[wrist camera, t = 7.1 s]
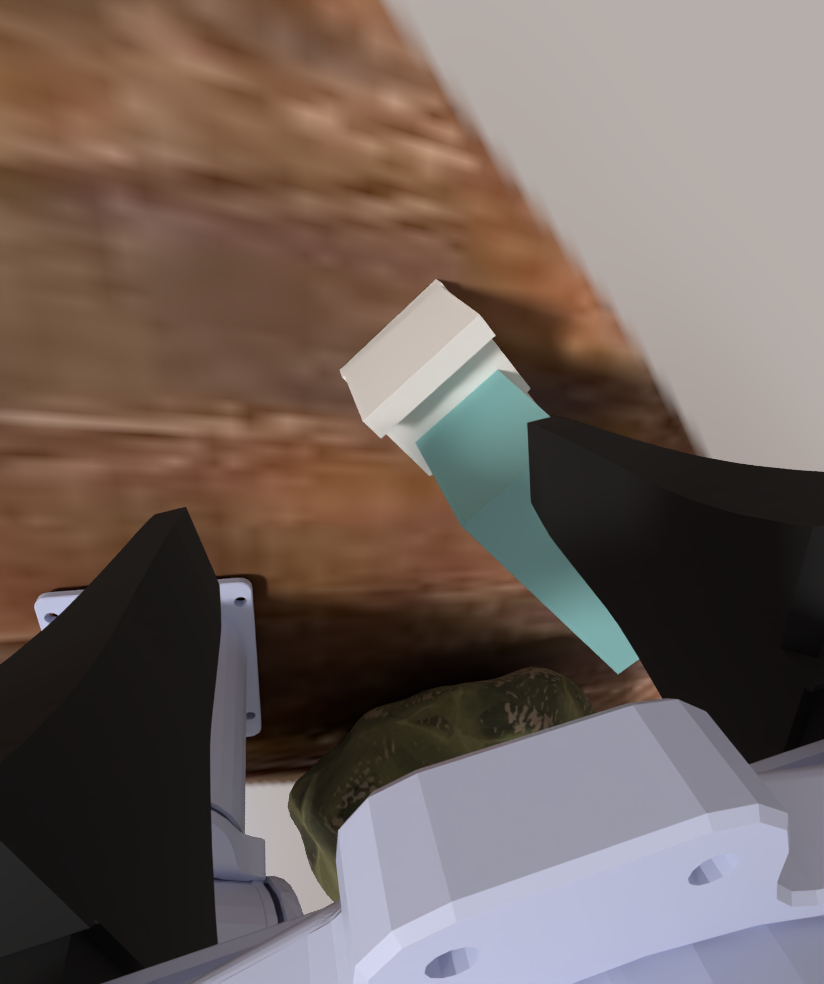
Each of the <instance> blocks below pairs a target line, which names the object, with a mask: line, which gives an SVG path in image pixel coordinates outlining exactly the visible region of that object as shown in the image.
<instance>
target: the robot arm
mask: <svg viewBox="0 0 824 984" xmlns="http://www.w3.org/2000/svg"><path fill="white" fill-rule="evenodd" d="M527 431H528V453H529V475H530V497H531V504H532V506H533V507H534V509H535V511H536V513H537V515H538V517H539V518H540V520H541V522H542V524H543V525H544V527H545V529H546V531H547V532H548V534H549V536H550V537H551V539H552V540H553V541H554V543H555V544H556V545H557V546H558V548H559V549H560V550H561V552H562V553H563V554H564V556H565V557H566V558H567V559H568V561H569V562H570V563H571V564H572V566H573V567H574V568H575V570H576V571H577V572H578V573H579V575H580V576H581V577H582V578H583V580H584V581H585V582H586V583H587V585H588V586H589V587H590V588H591V590H592V591H593V592H594V593H595V595H596V596H597V597H598V599H599V600H600V601H601V602H602V604H603V605H604V606H605V607H606V609H607V610H608V611H609V613H610V614H611V616H612V617H613V618H614V620H615V621H616V623H617V624H618V626H619V627H620V629H621V630H622V632H623V634H624V635H625V637H626V638H627V640H628V642H629V643H630V645H631V646H632V648H633V650H634V651H635V653H636V654H637V656H638V658H639V659H640V661H641V663H642V664H643V666H644V668H645V669H646V671H647V673H648V675H649V676H650V678H651V680H652V681H653V683H654V685H655V687H656V688H657V690H658V692H659V693H660V695H661V697H662V699H657V700H649V701H642V702H634V703H627V704H623V705H620V706H617V707H614V708H611V709H608V710H604V711H601V712H598V713H595V714H592V715H588V716H585V717H582V718H579V719H576V720H573V721H569V722H566V723H563V724H560V725H557V726H554V727H550V728H547V729H544V730H541V731H538V732H535V733H531V734H528V735H525V736H522V737H519V738H516V739H512V740H509V741H506V742H503V743H500V744H497V745H493V746H490V747H487V748H484V749H481V750H478V751H474V752H471V753H468V754H465V755H462V756H459V757H455V758H452V759H449V760H446V761H443V762H440V763H436V764H433V765H430V766H427V767H424V768H420V769H417V770H415V771H413V772H411V773H409V774H407V775H405V776H403V777H401V778H399V779H397V780H395V781H393V782H391V783H389V784H387V785H385V786H383V787H381V788H379V789H377V790H375V791H373V792H372V793H371V794H370V795H369V796H368V797H367V799H366V800H365V801H364V802H363V803H362V804H361V805H360V806H359V807H358V808H357V809H356V811H355V812H354V813H353V814H352V815H351V816H350V817H349V818H348V819H347V820H346V822H345V823H344V824H343V825H342V827H341V828H340V829H339V830H338V839H337V852H336V867H337V875H338V884H339V892H340V899H339V900H337V901H336V902H334V903H332V904H331V905H328V906H327V907H325V908H323V909H320V910H317V911H314V912H311V913H308V914H306V915H303V913H302V909H301V906H300V904H299V901H298V898H297V896H296V894H295V892H294V891H293V889H292V887H291V886H290V885H289V884H288V883H287V882H286V881H285V880H284V879H282V878H279V877H275V876H265V875H266V874H265V840H264V839H261V838H256V837H252V836H249V835H246V834H245V766H246V737H249V736H254V735H256V734H258V733H259V732H260V731H261V728H262V723H261V708H260V693H259V678H258V663H257V649H256V634H255V619H254V604H253V590H252V584H251V582H250V581H249V580H247V579H245V578H229V579H217V577H216V575H215V573H214V571H213V568H212V566H211V564H210V561H209V559H208V557H207V554H206V552H205V550H204V547H203V545H202V543H201V541H200V538H199V536H198V534H197V531H196V529H195V527H194V524H193V522H192V520H191V517H190V515H189V513H188V511H187V508H186V507H183V508H179V509H175V510H171V511H167V512H163V513H159V514H155V515H154V516H153V517H152V518H150V519H149V520H148V521H147V522H146V523H145V524H144V526H143V527H142V528H141V529H140V530H139V531H138V532H137V533H136V534H135V535H134V536H133V538H132V539H131V540H130V541H129V542H128V543H127V544H126V545H125V547H124V548H123V549H122V550H121V551H120V552H119V553H118V554H117V555H116V557H115V558H114V559H113V560H112V561H111V562H110V563H109V564H108V565H107V566H106V568H105V569H104V570H103V571H102V572H101V573H100V574H99V575H98V576H97V577H96V578H95V579H94V580H93V581H92V582H91V583H90V584H89V585H88V586H87V587H86V588H85V589H84V590H71V591H58V592H48V593H43V594H42V595H40V596H39V597H38V599H37V601H36V603H35V611H36V615H37V618H38V621H39V624H40V627H41V632H40V633H38V634H37V635H36V636H35V637H34V638H32V639H31V640H30V641H29V642H28V643H27V644H25V645H24V646H23V647H22V648H21V649H19V650H18V651H17V652H16V653H15V654H13V655H12V656H11V657H10V658H8V659H7V660H6V661H4V662H3V663H2V664H0V984H824V472H818V471H802V470H791V469H780V468H771V467H763V466H754V465H747V464H739V463H734V462H728V461H722V460H717V459H711V458H706V457H700V456H696V455H691V454H687V453H682V452H678V451H675V450H671V449H667V448H663V447H659V446H655V445H652V444H648V443H645V442H641V441H638V440H634V439H631V438H628V437H624V436H621V435H618V434H615V433H612V432H609V431H605V430H602V429H599V428H596V427H593V426H590V425H587V424H583V423H580V422H577V421H573V420H570V419H566V418H562V417H557V416H552V417H548V418H544V419H540V420H536V421H532V422H528V423H527ZM238 597H244V598H245V600H242V601H238V600H236V598H238ZM48 613H55V614H57V615H58V616H57V617H56V616H51V615H49V614H48ZM248 712H252V713H248Z"/></svg>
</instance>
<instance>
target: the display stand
mask: <svg viewBox="0 0 824 984" xmlns="http://www.w3.org/2000/svg"><path fill="white" fill-rule="evenodd" d="M495 336H496V335H495V334H494V333H493V331H492V330H491V329H490V327H489V326H488V325H487V323H486V322H485V321H484V320H483V318H482V317H481V316H480V314H478V313H477V312H476V311H474V310H473V309H471V308H470V307H469V306H467V305H466V304H465V303H463V302H462V301H461V300H459V299H458V298H456V297H455V296H454V295H452V294H451V293H450V292H449V291H448V290H447V289H446V287H445V286H444V285H443V284H442V283H441V282H440V281H438V280H437V279H436V280H435V281H433V282H432V283H431V284H430V285H429V286H428V287H427V288H426V289H425V290H424V291H423V292H422V293H421V294H420V295H419V296H418V297H417V298H415V299H414V300H413V301H412V302H411V303H410V304H409V305H408V306H407V307H406V308H405V309H404V310H403V311H402V312H401V313H400V314H399V315H397V316H396V317H395V318H394V319H393V320H392V321H391V322H390V323H389V324H388V325H387V326H386V327H385V328H384V329H383V330H382V331H381V332H379V333H378V334H377V335H376V336H375V337H374V338H373V339H372V340H371V341H370V342H369V343H368V344H367V345H366V346H365V347H364V348H363V349H361V350H360V351H359V352H358V353H357V354H356V355H355V356H354V357H353V358H352V359H351V360H350V361H349V362H348V363H347V364H346V365H345V366H343V367H342V368H341V369H340V373H341V375H342V378H343V379H344V380H345V381H346V382H347V383H348V386H349V388H350V391H351V393H352V396H353V398H354V401H355V403H356V405H357V408H358V410H359V413H360V415H361V418H362V420H363V422H364V423H365V424H366V425H367V426H368V427H369V428H370V429H372V430H373V431H374V432H375V433H376V434H377V435H378V436H379V437H380V438H382V437H383V436H384V435H386V434H387V435H388V436H389V437H390V438H391V439H392V440H393V441H394V442H395V443H396V444H397V445H398V446H399V447H400V448H401V449H402V450H403V451H404V452H405V453H406V454H407V455H408V456H409V457H410V458H412V459H413V460H414V461H415V462H416V463H417V464H418V465H419V466H420V467H421V468H422V469H423V470H424V471H425V472H426V473H427V474H428V475H429V476H431V475H432V472H431V470H430V469H429V467H428V465H427V463H426V461H425V460H424V458H423V456H422V454H421V452H420V451H419V449H418V447H417V445H416V443H415V442H416V441H417V440H418V439H420V438H421V437H422V436H423V435H424V434H425V433H426V432H427V431H429V430H430V429H431V428H432V427H433V426H434V425H435V424H436V423H438V422H439V421H440V420H441V419H442V418H443V417H444V416H446V415H447V414H448V413H449V412H450V411H451V410H452V409H453V408H455V407H456V406H457V405H458V404H459V403H460V402H461V401H462V400H464V399H465V398H466V397H467V396H468V395H469V394H470V393H472V392H473V391H474V390H475V389H476V388H477V387H478V386H479V385H481V384H482V383H483V382H484V381H485V380H486V379H487V378H488V377H490V376H491V375H492V374H493V373H494V372H495V371H496V370H499V371H500V372H501V373H502V374H503V375H504V376H506V377H507V378H508V379H509V380H510V381H511V382H512V383H513V384H514V385H516V386H517V387H518V388H519V389H520V390H521V391H522V392H523V393H524V394H526V395H527V396H528V397H529V398H530V399H531V400H532V401H533V402H534V403H535V401H534V400H533V399H532V398H531V396H530V395H529V394H528V393H527V392H528V391H529V390H530V387H529V386H528V385H527V383H526V382H525V381H524V379H523V378H522V377H521V376H520V374H519V373H518V372H517V370H516V369H515V368H514V367H513V365H512V364H511V363H510V361H509V360H508V359H507V357H506V356H505V355H504V354H503V352H502V351H501V350H500V348H499V347H498V346H497V345H496V343H495V342H494V341H493V339H492V338H493V337H495Z"/></svg>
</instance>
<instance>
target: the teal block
mask: <svg viewBox="0 0 824 984" xmlns="http://www.w3.org/2000/svg"><path fill="white" fill-rule="evenodd" d="M548 417H550V416H549V415H548V414H547V413H546V412H544V411H543V410H542V409H541V408H540V407H539V406H538V405H537V404H536V403H534V402H533V401H532V400H531V399H530V398H529V397H528V396H527V395H526V394H524V393H523V392H522V391H521V390H520V389H519V388H518V387H517V386H516V385H514V384H513V383H512V382H511V381H510V380H509V379H508V378H507V377H506V376H504V375H503V374H502V373H501V372H500V371H499V370H496V371H495V372H494V373H493V374H492V375H491V376H490V377H488V378H487V379H486V380H485V381H484V382H483V383H482V384H481V385H479V386H478V387H477V388H476V389H475V390H474V391H473V392H472V393H470V394H469V395H468V396H467V397H466V398H465V399H464V400H462V401H461V402H460V403H459V404H458V405H457V406H456V407H455V408H453V409H452V410H451V411H450V412H449V413H448V414H447V415H446V416H444V417H443V418H442V419H441V420H440V421H439V422H438V423H436V424H435V425H434V426H433V427H432V428H431V429H430V430H429V431H427V432H426V433H425V434H424V435H423V436H422V437H421V438H420V439H418V440H417V441H416V442H415V443H416V445H417V447H418V449H419V451H420V452H421V454H422V456H423V458H424V460H425V461H426V463H427V465H428V467H429V469H430V470H431V472H432V474H433V476H434V478H435V480H436V481H437V483H438V485H439V487H440V489H441V490H442V492H443V494H444V496H445V498H446V499H447V501H448V503H449V505H450V507H451V508H452V510H453V512H454V514H455V516H456V518H457V519H458V521H459V523H460V525H461V526H462V527H463V528H464V529H465V530H466V531H467V532H468V533H469V534H470V535H471V536H472V537H473V538H474V539H475V540H477V541H478V542H479V543H480V544H481V545H482V546H483V547H484V548H485V549H486V550H487V551H488V552H489V553H490V554H491V555H492V556H493V557H494V558H496V559H497V560H498V561H499V562H500V563H501V564H502V565H503V566H504V567H505V568H506V569H507V570H508V571H509V572H510V573H511V574H512V575H513V576H515V577H516V578H517V579H518V580H519V581H520V582H521V583H522V584H523V585H524V586H525V587H526V588H527V589H528V590H529V591H530V592H531V593H533V594H534V595H535V596H536V597H537V598H538V599H539V600H540V601H541V602H542V603H543V604H544V605H545V606H546V607H547V608H548V609H549V610H550V611H552V612H553V613H554V614H555V615H556V616H557V617H558V618H559V619H560V620H561V621H562V622H563V623H564V624H565V625H566V626H567V627H568V628H570V629H571V630H572V631H573V632H574V633H575V634H576V635H577V636H578V637H579V638H580V639H581V640H582V641H583V642H584V643H585V644H586V645H587V646H589V647H590V648H591V649H592V650H593V651H594V652H595V653H596V654H597V655H598V656H599V657H600V658H601V659H602V660H603V661H604V662H605V663H606V664H608V665H609V666H610V667H611V668H612V669H613V670H614V671H615V672H616V673H617V674H619V673H621V672H622V671H623V670H625V669H626V668H627V667H629V666H630V665H632V664H633V663H634V662H636V661H637V660H638V659H639V658H638V656H637V654H636V653H635V651H634V650H633V648H632V646H631V645H630V643H629V642H628V640H627V638H626V637H625V635H624V634H623V632H622V630H621V629H620V627H619V626H618V624H617V623H616V621H615V620H614V618H613V617H612V616H611V614H610V613H609V611H608V610H607V609H606V607H605V606H604V605H603V604H602V602H601V601H600V600H599V599H598V597H597V596H596V595H595V593H594V592H593V591H592V590H591V588H590V587H589V586H588V585H587V583H586V582H585V581H584V580H583V578H582V577H581V576H580V575H579V573H578V572H577V571H576V570H575V568H574V567H573V566H572V564H571V563H570V562H569V561H568V559H567V558H566V557H565V556H564V554H563V553H562V552H561V550H560V549H559V548H558V546H557V545H556V544H555V543H554V541H553V540H552V539H551V537H550V536H549V534H548V532H547V531H546V529H545V527H544V525H543V524H542V522H541V520H540V518H539V517H538V515H537V513H536V511H535V509H534V507H533V506H532V504H531V497H530V475H529V453H528V431H527V423H528V422H532V421H536V420H540V419H544V418H548Z"/></svg>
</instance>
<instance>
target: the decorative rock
mask: <svg viewBox="0 0 824 984" xmlns="http://www.w3.org/2000/svg"><path fill="white" fill-rule="evenodd" d="M592 714H595V713H594V710H593V708H592V706H591V704H590V701H589V699H588V698H587V696H586V695H585V694H584V692H583V691H582V690H581V688H580V687H579V686H578V685H577V684H576V683H574V682H573V681H572V680H570V679H569V678H567V677H566V676H564V675H562V674H560V673H557V672H555V671H553V670H550V669H546V668H542V667H527V668H523V669H520V670H516V671H514V672H511V673H509V674H506V675H504V676H501V677H498V678H494V679H491V680H484V681H476V682H468V683H462V684H457V685H452V686H441V687H437V688H433V689H428V690H424V691H422V692H420V693H417V694H415V695H413V696H411V697H409V698H406V699H404V700H400V701H397V702H393V703H390V704H386V705H383V706H380V707H376V708H374V709H372V710H370V711H369V712H367V713H365V714H364V715H363V716H362V717H361V718H360V719H359V720H358V721H357V722H356V724H355V725H354V727H353V728H352V729H351V731H350V732H349V734H348V735H347V736H346V737H345V739H344V740H343V741H342V742H341V743H340V744H339V745H337V746H336V747H335V748H334V749H333V750H331V751H330V752H329V753H328V754H327V755H325V756H324V757H323V758H321V759H320V760H319V761H318V762H317V763H316V764H314V765H313V766H312V767H311V768H310V769H309V770H308V771H307V772H306V773H305V774H304V775H303V776H302V777H301V778H299V779H298V780H297V781H296V783H295V784H294V786H293V788H292V790H291V792H290V794H289V802H288V809H289V812H290V816H291V818H292V820H293V821H294V823H295V825H296V826H297V828H298V830H299V831H300V834H301V836H302V840H303V843H304V846H305V851H306V855H307V858H308V861H309V864H310V867H311V869H312V871H313V873H314V875H315V877H316V879H317V881H318V882H319V884H320V885H321V887H322V888H323V889H324V891H325V892H326V894H327V895H328V896H329V897H330V898H331V899H332V900H333V901H334V902H336V901H337V900H339V899H340V892H339V884H338V875H337V867H336V852H337V839H338V830H339V829H340V828H341V827H342V825H343V824H344V823H345V822H346V820H347V819H348V818H349V817H350V816H351V815H352V814H353V813H354V812H355V811H356V809H357V808H358V807H359V806H360V805H361V804H362V803H363V802H364V801H365V800H366V799H367V797H368V796H369V795H370V794H371V793H372V792H373V791H375V790H377V789H379V788H381V787H383V786H385V785H387V784H389V783H391V782H393V781H395V780H397V779H399V778H401V777H403V776H405V775H407V774H409V773H411V772H413V771H415V770H417V769H420V768H424V767H427V766H430V765H433V764H436V763H440V762H443V761H446V760H449V759H452V758H455V757H459V756H462V755H465V754H468V753H471V752H474V751H478V750H481V749H484V748H487V747H490V746H493V745H497V744H500V743H503V742H506V741H509V740H512V739H516V738H519V737H522V736H525V735H528V734H531V733H535V732H538V731H541V730H544V729H547V728H550V727H554V726H557V725H560V724H563V723H566V722H569V721H573V720H576V719H579V718H582V717H585V716H588V715H592Z"/></svg>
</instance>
